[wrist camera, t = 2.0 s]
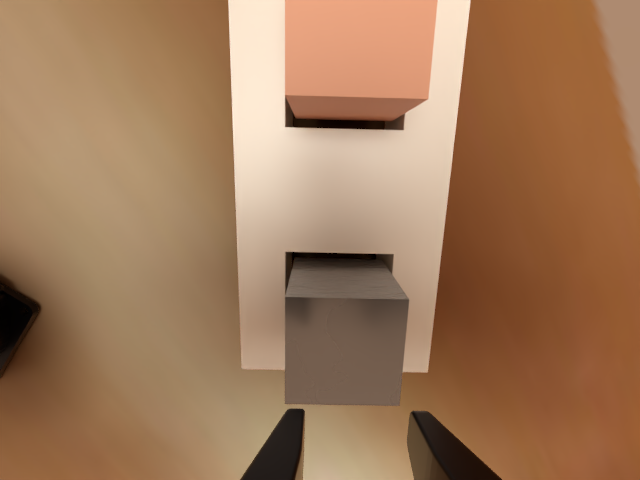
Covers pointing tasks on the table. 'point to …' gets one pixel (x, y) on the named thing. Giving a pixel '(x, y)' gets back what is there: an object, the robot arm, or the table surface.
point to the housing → (336, 182)
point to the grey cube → (344, 333)
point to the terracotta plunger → (358, 57)
